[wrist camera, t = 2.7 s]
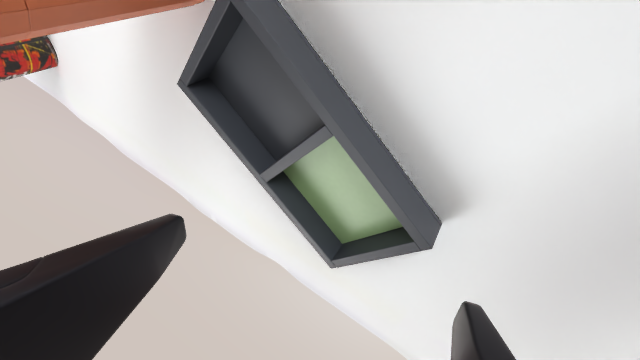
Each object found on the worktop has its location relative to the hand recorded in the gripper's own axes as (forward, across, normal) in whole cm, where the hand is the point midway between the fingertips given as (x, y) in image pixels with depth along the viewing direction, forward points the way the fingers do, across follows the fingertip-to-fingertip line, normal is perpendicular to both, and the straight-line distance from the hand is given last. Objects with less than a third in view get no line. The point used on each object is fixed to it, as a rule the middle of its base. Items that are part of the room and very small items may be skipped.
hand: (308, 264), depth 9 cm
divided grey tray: (+14, +4, +2) cm, 14 cm away
